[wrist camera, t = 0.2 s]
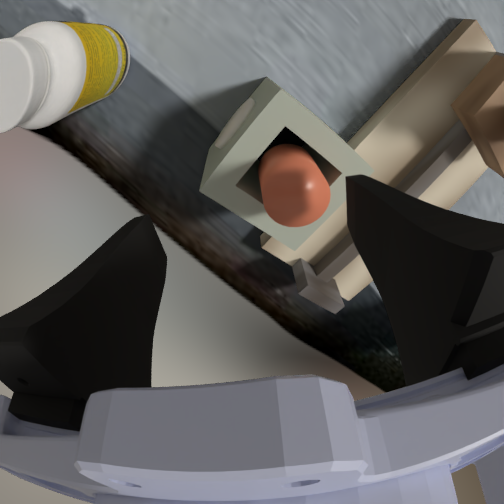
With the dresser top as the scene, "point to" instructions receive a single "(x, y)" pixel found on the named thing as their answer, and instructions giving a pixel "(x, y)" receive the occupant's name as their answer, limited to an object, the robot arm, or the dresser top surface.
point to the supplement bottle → (58, 71)
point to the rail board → (400, 163)
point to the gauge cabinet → (252, 146)
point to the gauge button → (292, 186)
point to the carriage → (485, 113)
